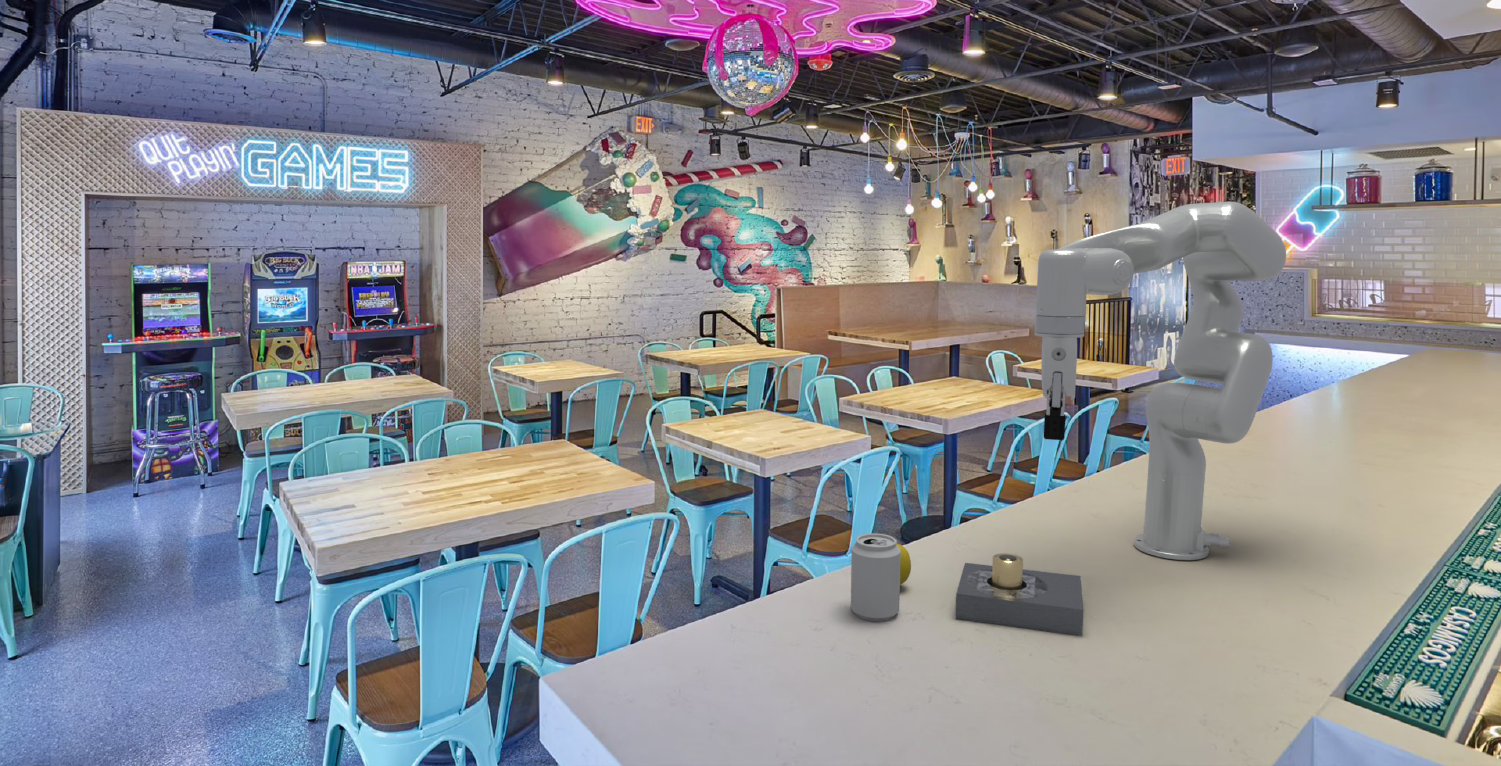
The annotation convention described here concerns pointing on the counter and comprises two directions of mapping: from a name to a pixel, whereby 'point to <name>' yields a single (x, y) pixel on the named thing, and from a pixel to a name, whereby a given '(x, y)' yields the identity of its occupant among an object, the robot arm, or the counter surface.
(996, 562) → the cylinder
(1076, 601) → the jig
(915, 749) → the counter surface
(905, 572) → the lemon
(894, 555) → the can
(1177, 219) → the robot arm
